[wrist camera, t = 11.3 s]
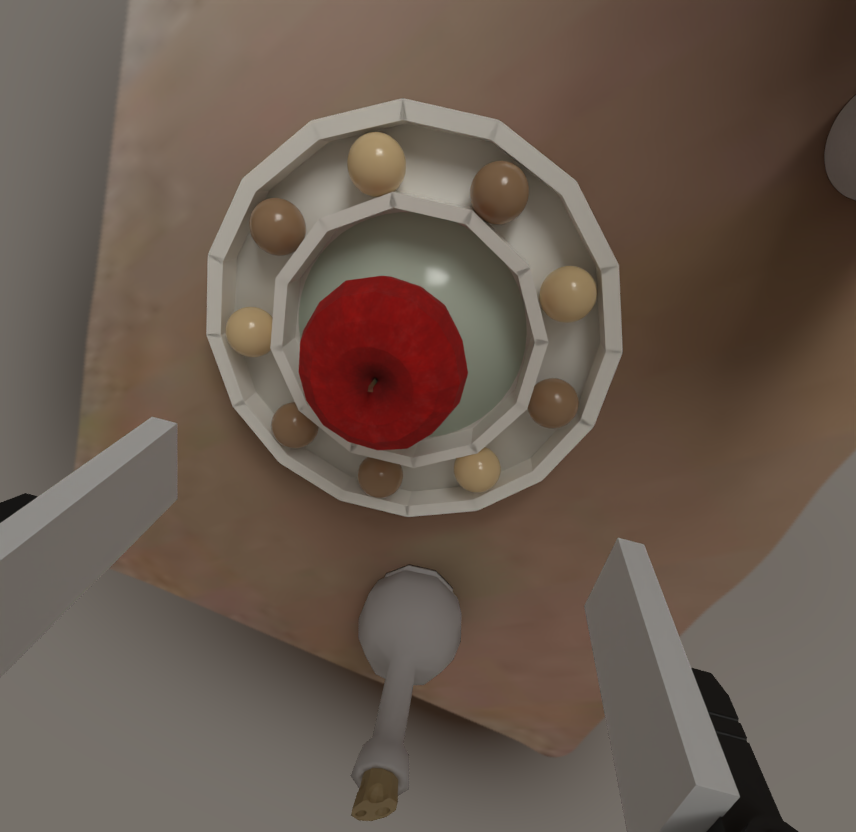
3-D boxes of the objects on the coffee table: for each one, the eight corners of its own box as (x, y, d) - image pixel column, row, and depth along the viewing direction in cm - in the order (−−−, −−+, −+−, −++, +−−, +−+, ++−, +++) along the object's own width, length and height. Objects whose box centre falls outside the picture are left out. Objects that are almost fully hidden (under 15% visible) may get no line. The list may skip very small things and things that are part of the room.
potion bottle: (374, 547, 45) (304, 756, 29) (474, 569, 45) (461, 793, 28) (362, 619, 49) (295, 839, 33) (455, 640, 48) (433, 872, 32)
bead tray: (236, 65, 31) (197, 48, 27) (678, 165, 30) (705, 163, 26) (222, 449, 43) (194, 476, 39) (542, 526, 42) (547, 563, 38)
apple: (346, 242, 33) (283, 270, 24) (489, 279, 33) (486, 323, 24) (325, 379, 38) (265, 452, 28) (452, 413, 38) (436, 497, 28)
